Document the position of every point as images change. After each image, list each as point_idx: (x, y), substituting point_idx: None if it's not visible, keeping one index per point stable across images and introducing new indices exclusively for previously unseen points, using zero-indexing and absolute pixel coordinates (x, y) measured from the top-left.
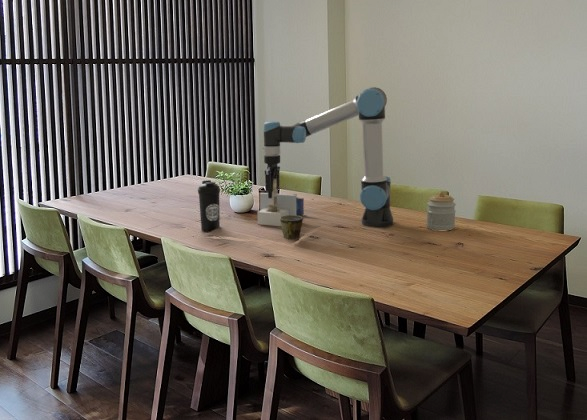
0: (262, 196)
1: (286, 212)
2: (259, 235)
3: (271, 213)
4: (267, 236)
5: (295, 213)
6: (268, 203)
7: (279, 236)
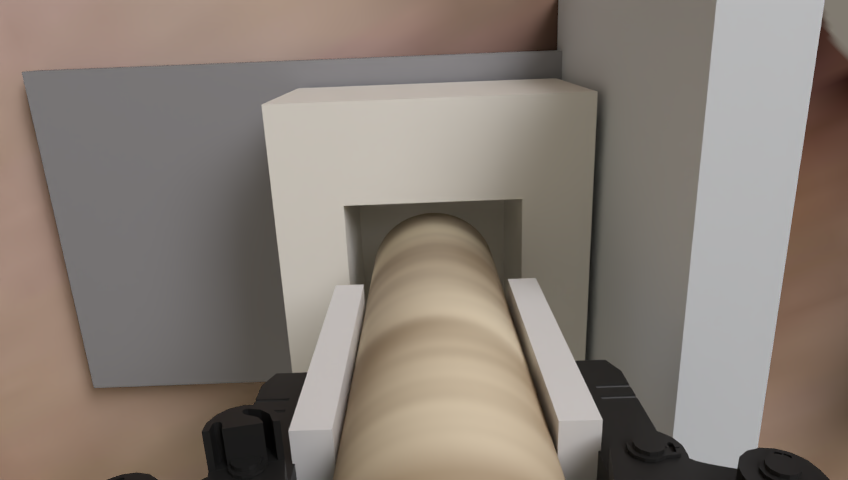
0: (682, 29)
1: None
2: (6, 257)
3: (287, 320)
4: (18, 341)
5: None
6: (334, 302)
7: (78, 434)
